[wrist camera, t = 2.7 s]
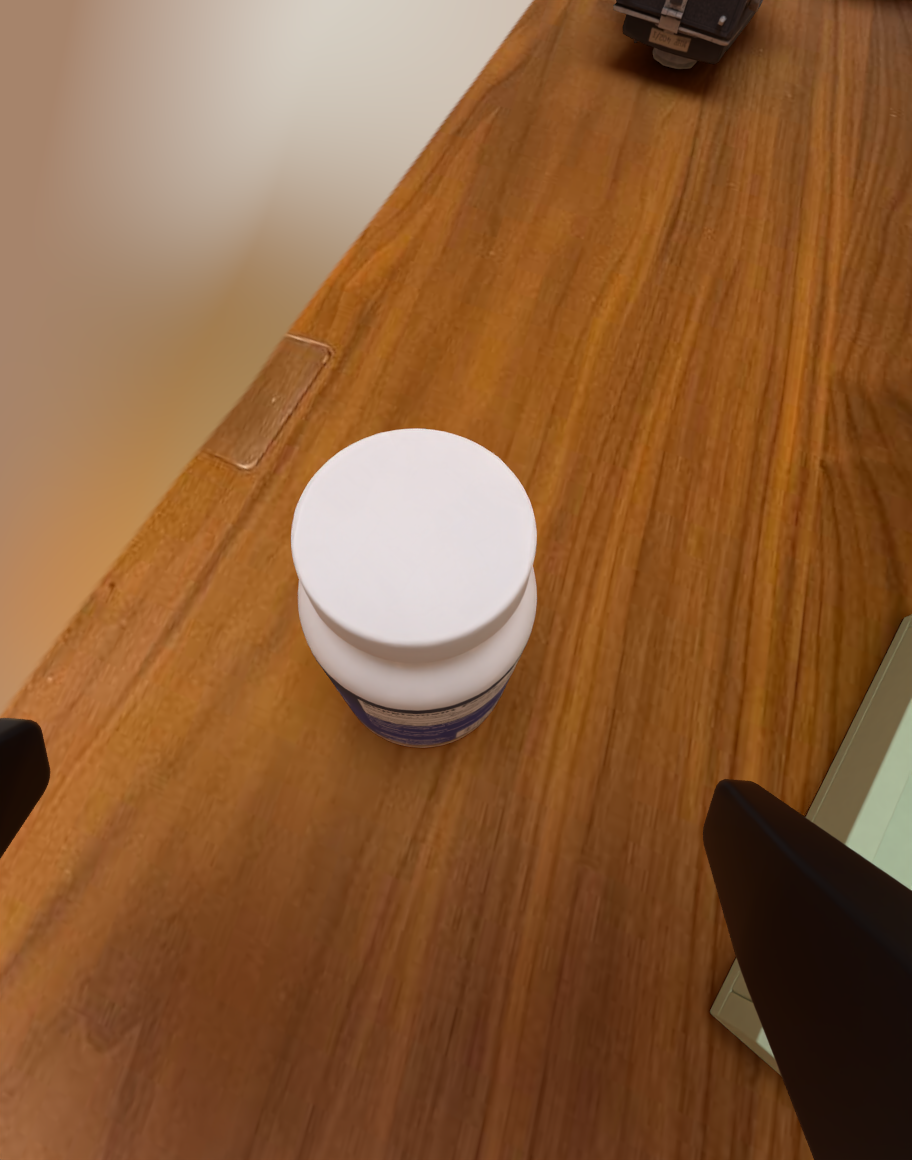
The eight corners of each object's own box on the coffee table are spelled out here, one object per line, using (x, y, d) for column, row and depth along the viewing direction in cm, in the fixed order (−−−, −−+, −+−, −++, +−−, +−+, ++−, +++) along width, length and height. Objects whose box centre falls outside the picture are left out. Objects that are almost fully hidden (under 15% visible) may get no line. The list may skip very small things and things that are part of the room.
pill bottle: (343, 595, 20) (273, 406, 11) (496, 589, 21) (546, 401, 12) (339, 757, 18) (246, 681, 9) (512, 746, 18) (591, 663, 9)
